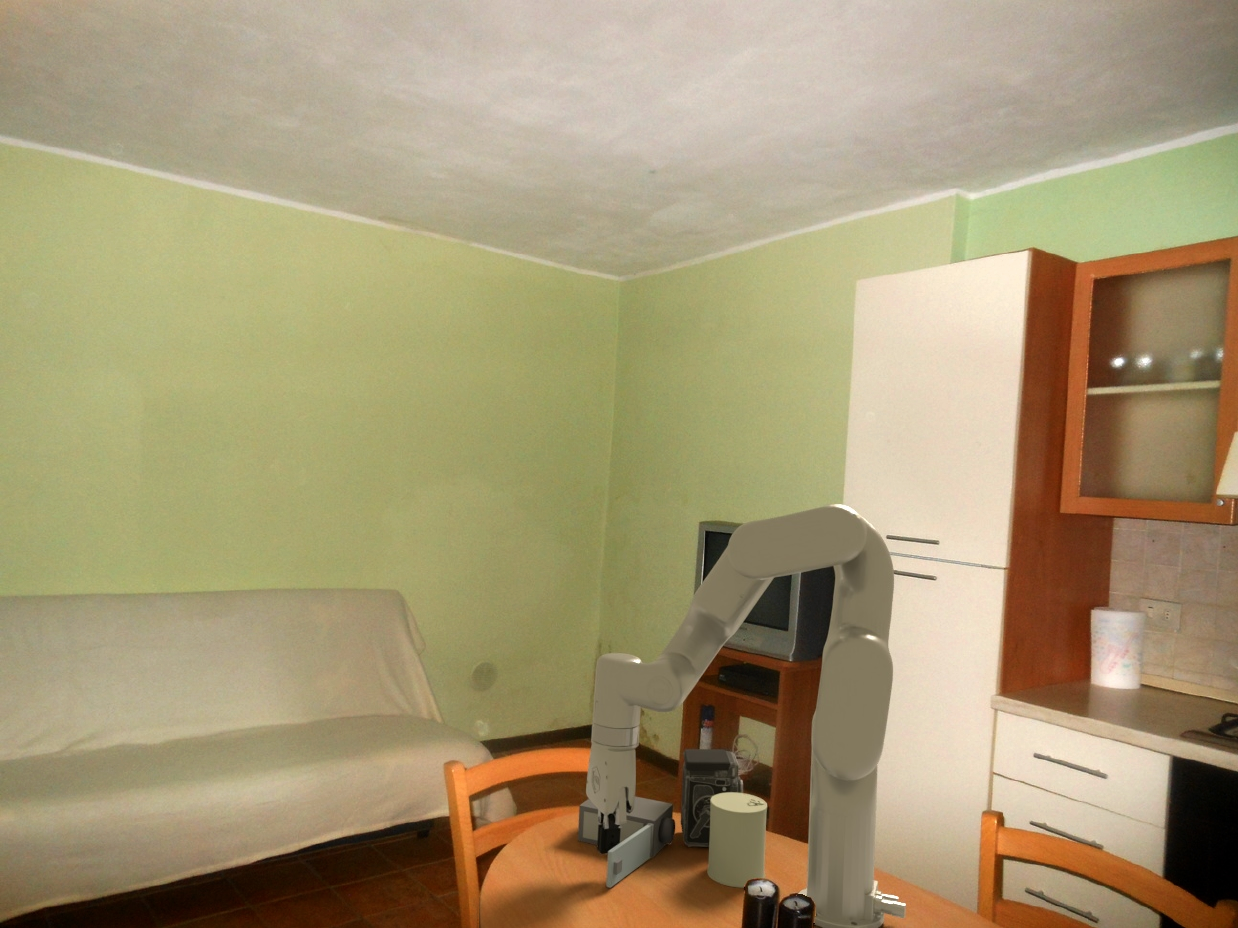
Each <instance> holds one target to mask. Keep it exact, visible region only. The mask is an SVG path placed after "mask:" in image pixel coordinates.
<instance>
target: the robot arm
mask: <svg viewBox="0 0 1238 928" xmlns="http://www.w3.org/2000/svg"><path fill="white" fill-rule="evenodd" d="M727 544H728V545H727V546H726V548H725V549H724V550H723V552H722V553H721V555H720V557H719V559H718V560H717V561H716V563H715V564H714V565H713V567H712V569H711V570H710V571H709V572H708V574H707V576H706V577H705V578H704V580H703V581H702V583H701V584H700V585H699V586H698V587H697V588H698V589H697V590H696V591H695V593H694V594H693V596H692V598H691V599H690V605H689V607H688V611H687V613H686V616H685V617H684V619H683V620H682V622H681V624H680V625H679V627H678V628H677V630H676V632H674V634H673V636H672V637H671V639H670V640H669V641H668V643H667V644H666V646H665V647H664V649H663V650H662V652H661V653H660V654H659V655H658V657H657V658H656V659H655V660H654V661H651V662H642V660H641V658H640V657H638V656H636V655H633V654H631V653H625V652H623V653H622V652H620V653H619V652H611V653H610V652H608V653H605V654H602V655H600V656H599V657H598V659H597V661H596V666H595V678H594V693H593V694H594V695H593V710H592V725H591V739H590V742H591V747H590V752H589V753H590V754H589V758H588V759H589V760H588V767H587V774H586V775H587V776H586V786H585V787H586V789H585V793H586V797H587V799H590V800H591V802H592V803H593V804H594V805H595V806H596V807H597V808H598V822H599V825H598V839H597V845H596V849H597V851H599V853H600V855H608V851H609V850H611V849H612V848H614V847H615V846H616V845H618V844H619V843H620V832H621V827H622V825H625V824H626V822H627V820H626V812H627V813H631V812H632V811H633V808H634V802H635V797H636V786H637V785H636V784H637V783H636V779H637V778H636V777H637V775H636V773H637V772H636V770H637V767H636V765H637V763H636V762H637V761H636V758H637V757H636V749H637V748H638V747H639V745H640V744H639V742H640V729H641V727H640V726H641V711H642V708H643V709H647V710H649V711H654V712H657V713H668V712H669V713H670V712H672V711H675V710H677V709H678V708H679V707H680V706H682V704H683V703H684V701H685V700H686V699H687V698H688V696H689V695H690V693H691V692H692V690H693V689H694V688H695V687H696V685H697V683H698V682H699V681H700V679H701V677H702V676H703V674H704V673H705V672H706V670H708V667H709V666H710V665H711V663H712V662H713V660H714V659H715V657H716V656H717V654H718V653H719V652H720V650H721V648H723V646H724V645H725V644H726V642H728V640H729V639H730V638H731V637H733V636H735V634H736V633H737V631H738V630H739V629H740V628H741V626H742V624H743V623H744V621H745V620H746V618H747V617H748V616H749V614H750V613H751V611H752V610H753V608H754V607H755V606H756V604H757V602H758V601H759V599H760V598H761V597H762V595H763V594H764V592H765V591H766V590H767V588H768V587H769V585H770V584H771V583H772V581H773V580H774V578H778V577H785V576H790V575H794V574H800V573H804V572H805V573H806V572H811V571H814V570H819V569H824V568H830V567H833V570H834V577H835V580H834V589H833V596H832V597H833V598H832V599H833V600H832V608H831V616H830V622H829V628H828V633H827V637H826V641H825V644H824V645H823V650H822V661H821V671H820V678H819V686H818V691H817V693H818V694H817V699H816V706H815V707H816V708H815V711H814V714H813V715H812V720H811V737H810V738H811V757H810V758H811V760H810V761H811V763H810V764H811V766H810V789H809V790H810V791H809V792H810V793H809V812H808V813H809V815H808V816H809V817H808V818H809V819H808V840H807V841H808V843H807V844H808V846H807V848H808V849H807V870H806V871H807V873H806V875H807V876H806V877H807V878H806V888H803V889H802V890H800V891H799V892H798V893H797V894H803V895H805V896H807V897H811V898H812V900H813V901H814V902H815V904H816V916H815V924H814V925H815V926H817V927H820V928H880V927H881V926H882V925H883V923H884V921H885V915H891V916H892V917H896V918H899V919H905V918H906V903H904V902H899V896H896V895H893V894H885V893H882V892H883V891H881V890H879V881H878V880H875V859H876V858H875V857H876V855H875V854H876V851H875V850H876V827H877V825H876V824H877V823H876V822H877V821H876V820H877V807H878V806H877V803H878V801H877V800H878V764H879V762H880V760H881V757H882V754H883V750H884V745H885V737H886V731H887V726H888V725H887V724H888V717H889V709H890V703H891V696H892V690H893V680H894V664H893V659H892V655H891V653H890V649H889V639H890V630H891V629H890V628H891V621H892V612H893V610H892V609H893V601H894V590H895V589H894V588H895V571H894V565H893V561H892V556H891V553H890V551H889V548H888V547H887V546H888V545H887V544H886V542H885V540H884V539H883V536H882V535H881V534H880V533H879V531H878V530H877V529H876V528H875V527H874V525H872V524H871V523H870V522H869V521H868V520H867V519H866V518H865V517H863V516H862V515H861V514H859V513H858V512H857V511H856V510H854V509H853V508H851V507H849V506H848V505H844V504H840V503H833V504H832V503H831V504H826V505H824V506H820V507H815V508H811V509H807V510H802V511H798V512H794V513H789V514H786V515H780V516H776V517H770V518H764V519H759V520H757V519H756V520H751V521H750V520H749V521H747V522H745V523H743V524H741V525H739V526H738V527H737V528H736V529H735V530H734V531H733V532H732V534H731V536H730V538H729V541H728V543H727Z"/></svg>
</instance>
